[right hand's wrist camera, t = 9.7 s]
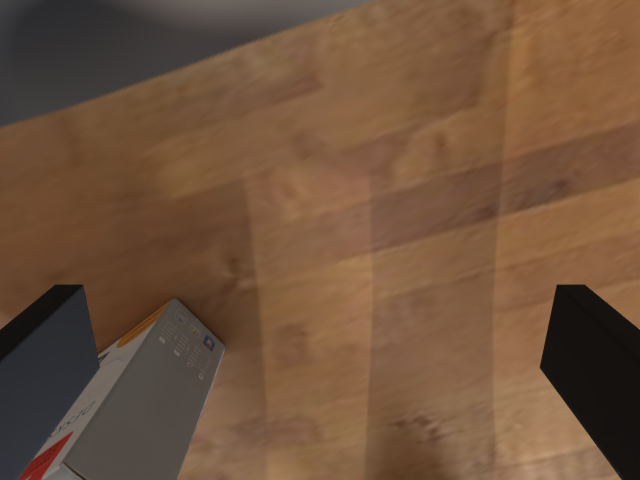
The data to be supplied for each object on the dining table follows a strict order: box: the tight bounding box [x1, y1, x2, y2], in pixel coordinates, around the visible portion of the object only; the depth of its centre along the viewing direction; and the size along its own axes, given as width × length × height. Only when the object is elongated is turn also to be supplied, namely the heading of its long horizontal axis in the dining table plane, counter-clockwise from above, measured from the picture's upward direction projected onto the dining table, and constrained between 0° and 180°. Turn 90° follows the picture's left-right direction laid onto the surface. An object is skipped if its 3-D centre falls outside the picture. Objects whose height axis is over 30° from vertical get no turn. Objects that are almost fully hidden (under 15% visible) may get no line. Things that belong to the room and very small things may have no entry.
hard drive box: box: [18, 298, 225, 480], centre depth 37 cm, size 16×8×20 cm, turn 128°
